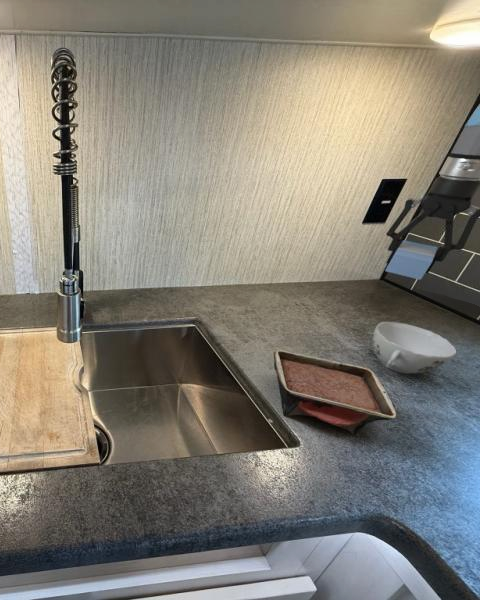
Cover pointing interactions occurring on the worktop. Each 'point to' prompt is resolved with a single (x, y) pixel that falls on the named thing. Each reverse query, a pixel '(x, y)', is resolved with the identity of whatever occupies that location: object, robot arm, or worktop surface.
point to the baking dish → (331, 391)
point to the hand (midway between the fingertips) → (406, 266)
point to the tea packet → (412, 259)
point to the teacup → (410, 348)
